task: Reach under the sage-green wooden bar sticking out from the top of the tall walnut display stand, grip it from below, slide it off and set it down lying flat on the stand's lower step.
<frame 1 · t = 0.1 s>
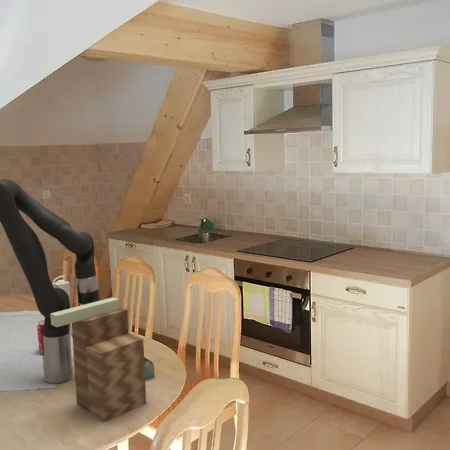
hand: (93, 332, 189), 17 cm above the table, tool pointing down, fingers open, 8 cm apart
beverage carton: (132, 373, 196), on the table
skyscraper: (64, 339, 231), on the table
display stand: (111, 403, 172), on the table
soda can: (48, 352, 216), on the table
sage bar: (86, 316, 167), point 30 cm above the table, touching display stand
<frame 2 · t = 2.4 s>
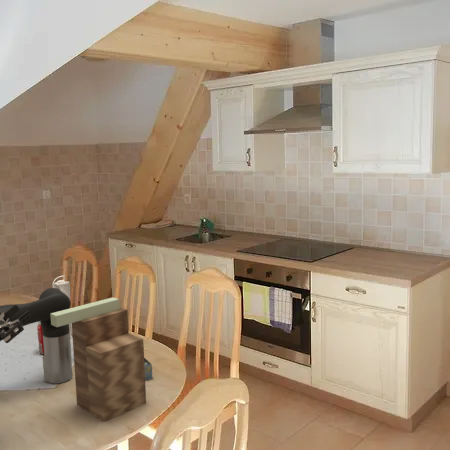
hand: (23, 309, 155), 36 cm above the table, tool pointing upward, fingers open, 8 cm apart
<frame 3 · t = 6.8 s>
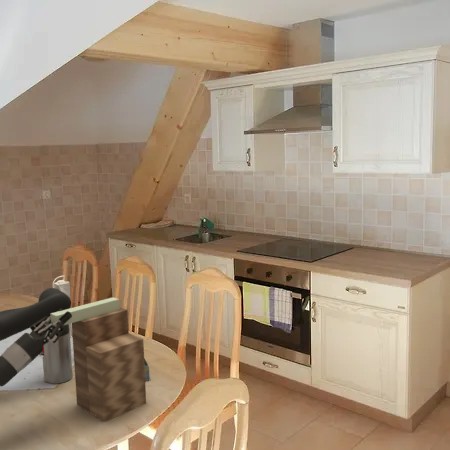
hand: (66, 312, 161), 33 cm above the table, tool pointing upward, fingers closed on sage bar, 3 cm apart
sage bar: (86, 316, 167), point 30 cm above the table, touching display stand, gripper
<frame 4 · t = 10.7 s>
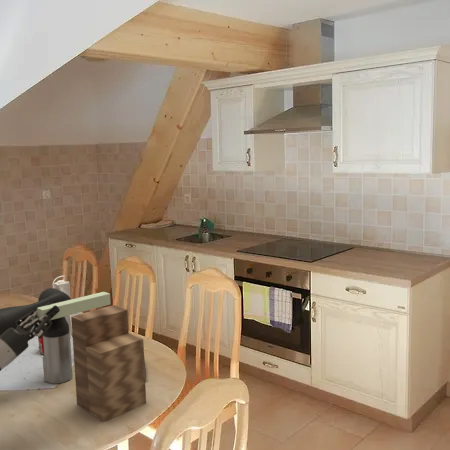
hand: (54, 306, 154), 37 cm above the table, tool pointing upward, fingers closed on sage bar, 3 cm apart
sage bar: (75, 311, 160), point 34 cm above the table, touching gripper
when the fingers open (26 cm above the table, at t = 14.5 s): sage bar drops 1 cm, resting on display stand.
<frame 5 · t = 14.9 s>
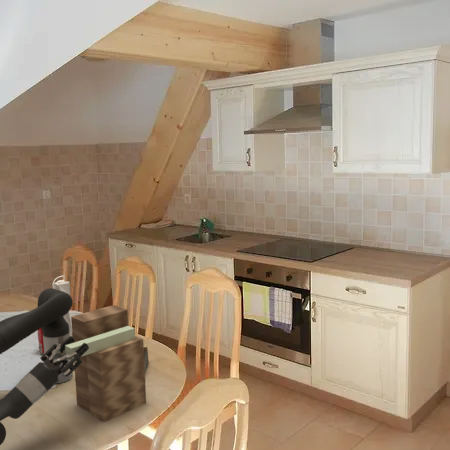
hand: (79, 341, 157), 26 cm above the table, tool pointing upward, fingers open, 7 cm apart
sage bar: (101, 347, 162), point 22 cm above the table, touching display stand
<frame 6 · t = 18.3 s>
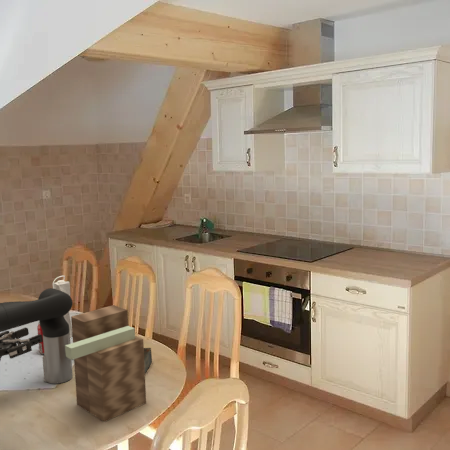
hand: (34, 334, 150), 31 cm above the table, tool horizontal, fingers open, 8 cm apart
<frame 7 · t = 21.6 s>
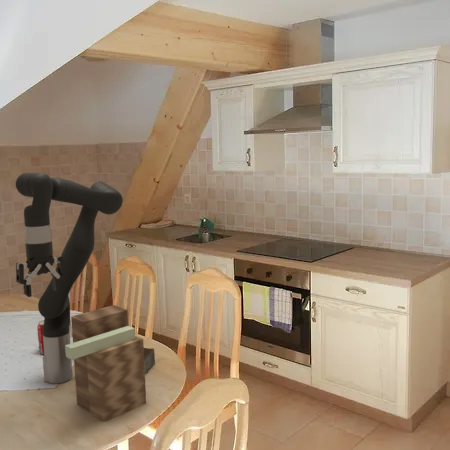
hand: (42, 293, 158), 40 cm above the table, tool pointing down, fingers open, 8 cm apart
at the end: sage bar inside the target area on the display stand (0.1 cm from its centre), point 22.0 cm above the display stand's base; sage bar tilted 0°; the gripper is holding nothing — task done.
